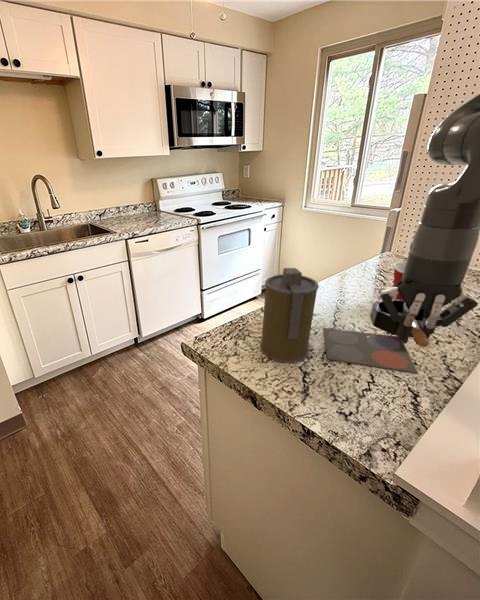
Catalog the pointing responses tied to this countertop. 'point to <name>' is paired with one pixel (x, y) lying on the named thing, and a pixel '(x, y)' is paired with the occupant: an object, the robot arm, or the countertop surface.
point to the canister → (288, 315)
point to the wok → (385, 322)
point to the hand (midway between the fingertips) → (410, 341)
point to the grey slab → (367, 350)
